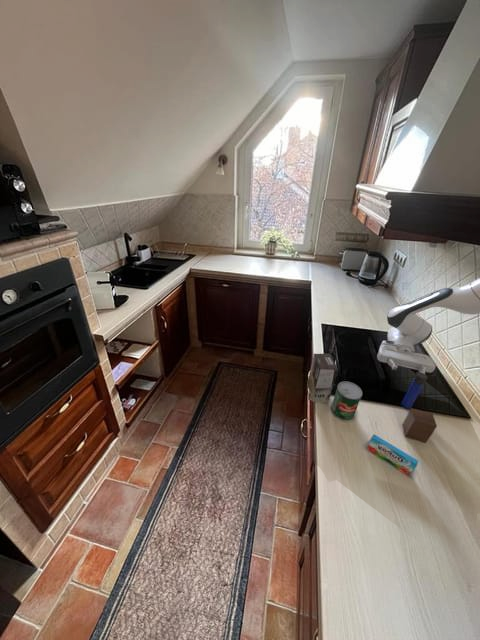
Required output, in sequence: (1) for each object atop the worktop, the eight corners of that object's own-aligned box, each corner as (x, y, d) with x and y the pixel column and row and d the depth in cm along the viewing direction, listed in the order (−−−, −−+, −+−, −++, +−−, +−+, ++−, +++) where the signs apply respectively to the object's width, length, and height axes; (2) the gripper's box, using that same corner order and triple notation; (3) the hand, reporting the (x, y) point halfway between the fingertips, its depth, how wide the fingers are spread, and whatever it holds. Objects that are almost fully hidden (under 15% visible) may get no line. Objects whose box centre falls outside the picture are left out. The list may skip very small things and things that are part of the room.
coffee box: (329, 402, 94) (338, 370, 85) (311, 402, 94) (319, 369, 85) (322, 384, 102) (331, 353, 93) (306, 384, 102) (313, 352, 93)
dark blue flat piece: (399, 407, 95) (404, 373, 98) (409, 409, 94) (413, 375, 97) (414, 409, 83) (418, 370, 86) (425, 412, 82) (429, 373, 85)
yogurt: (365, 449, 78) (371, 437, 75) (367, 446, 79) (373, 433, 76) (409, 477, 72) (417, 464, 68) (410, 473, 73) (418, 460, 69)
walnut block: (402, 424, 86) (411, 408, 82) (422, 430, 85) (432, 413, 80) (404, 437, 82) (414, 420, 78) (425, 443, 81) (437, 426, 76)
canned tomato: (344, 400, 95) (351, 379, 89) (358, 417, 88) (367, 395, 83) (326, 405, 93) (332, 383, 87) (339, 423, 86) (347, 401, 81)
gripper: (426, 362, 108) (436, 384, 97) (374, 351, 114) (377, 370, 102) (433, 350, 105) (443, 372, 93) (379, 339, 110) (382, 358, 99)
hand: (408, 371), depth 98 cm, fingers open, 8 cm apart
